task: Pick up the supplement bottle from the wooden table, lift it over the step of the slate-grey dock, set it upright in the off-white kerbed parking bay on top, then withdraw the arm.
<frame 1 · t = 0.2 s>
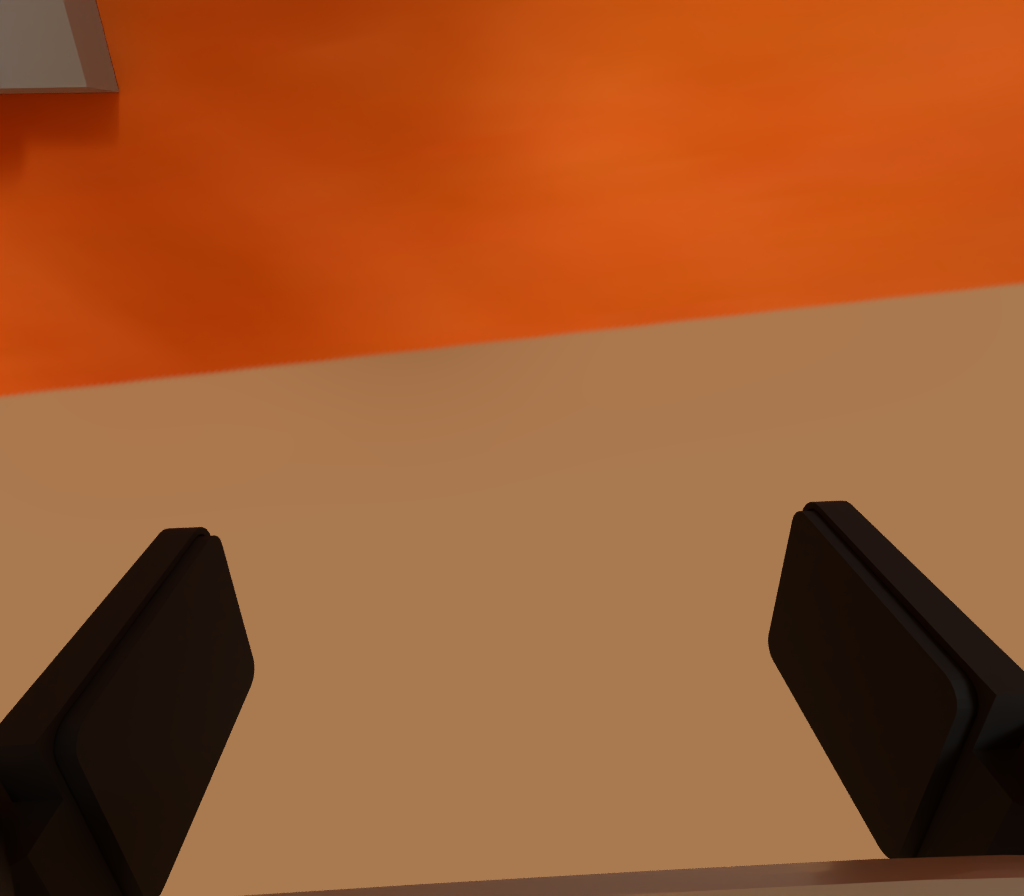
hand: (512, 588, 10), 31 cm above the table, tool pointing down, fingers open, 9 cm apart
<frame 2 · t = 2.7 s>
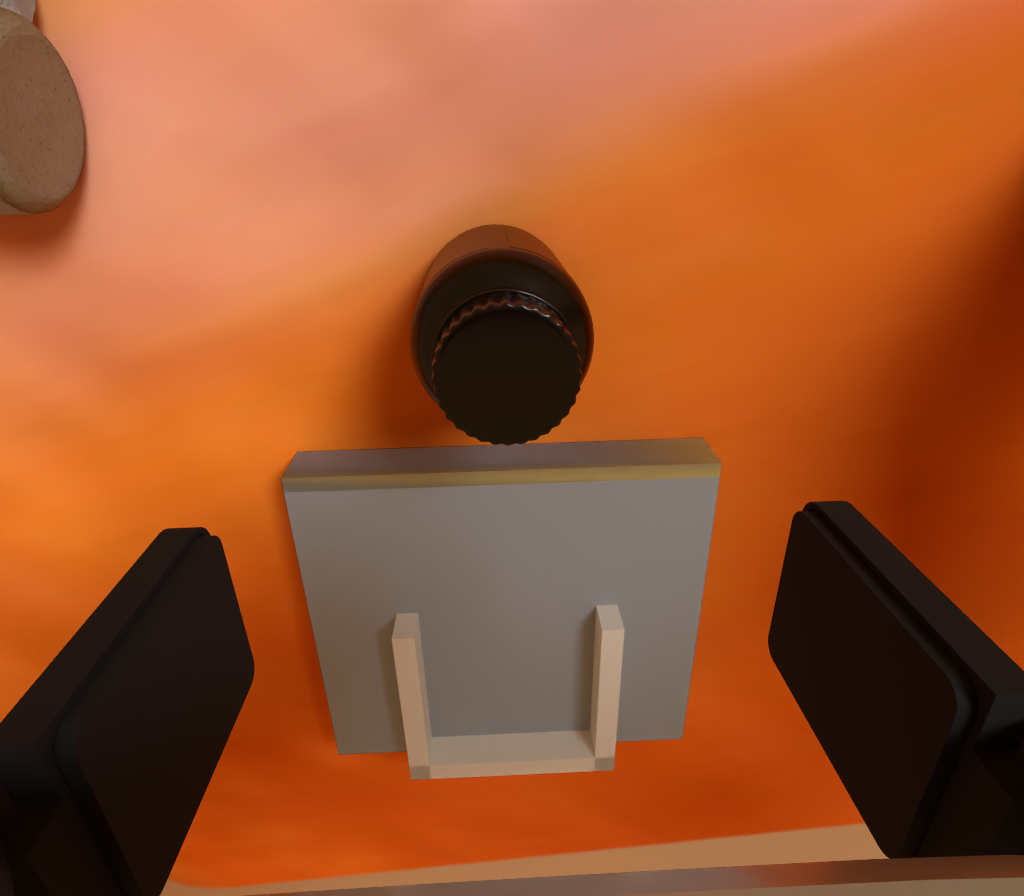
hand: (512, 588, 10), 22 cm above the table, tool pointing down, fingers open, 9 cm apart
supplement bottle: (497, 295, 30), on the table
dock: (506, 591, 38), on the table
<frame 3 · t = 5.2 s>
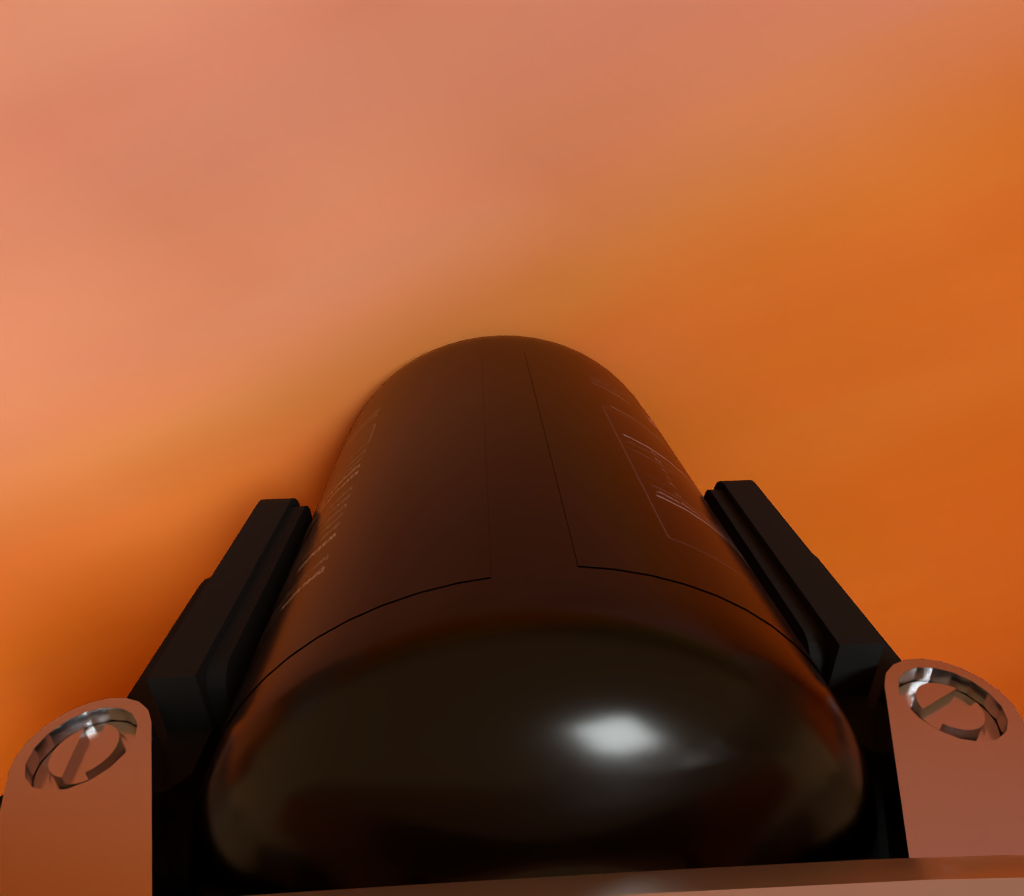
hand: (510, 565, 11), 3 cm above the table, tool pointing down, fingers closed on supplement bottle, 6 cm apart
supplement bottle: (505, 472, 14), on the table, touching gripper
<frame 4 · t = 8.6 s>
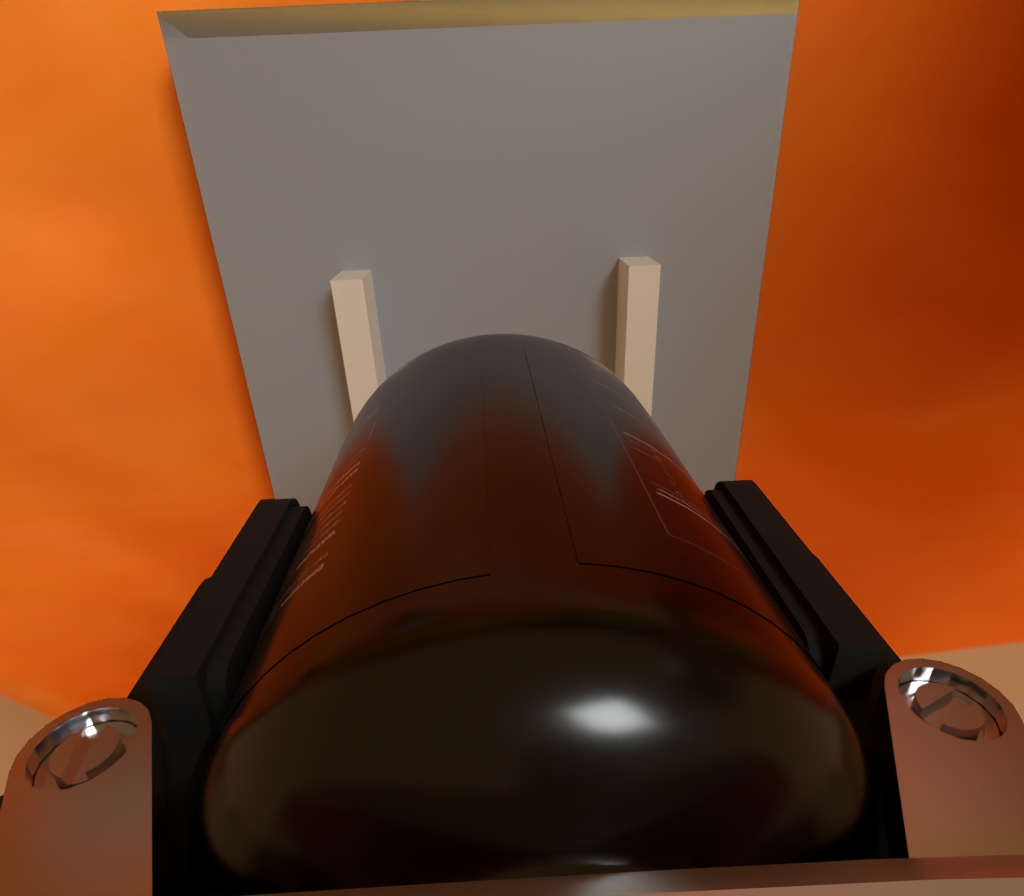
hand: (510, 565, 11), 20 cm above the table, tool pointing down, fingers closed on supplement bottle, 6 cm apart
supplement bottle: (504, 471, 14), point 16 cm above the table, touching gripper
dock: (495, 279, 28), on the table
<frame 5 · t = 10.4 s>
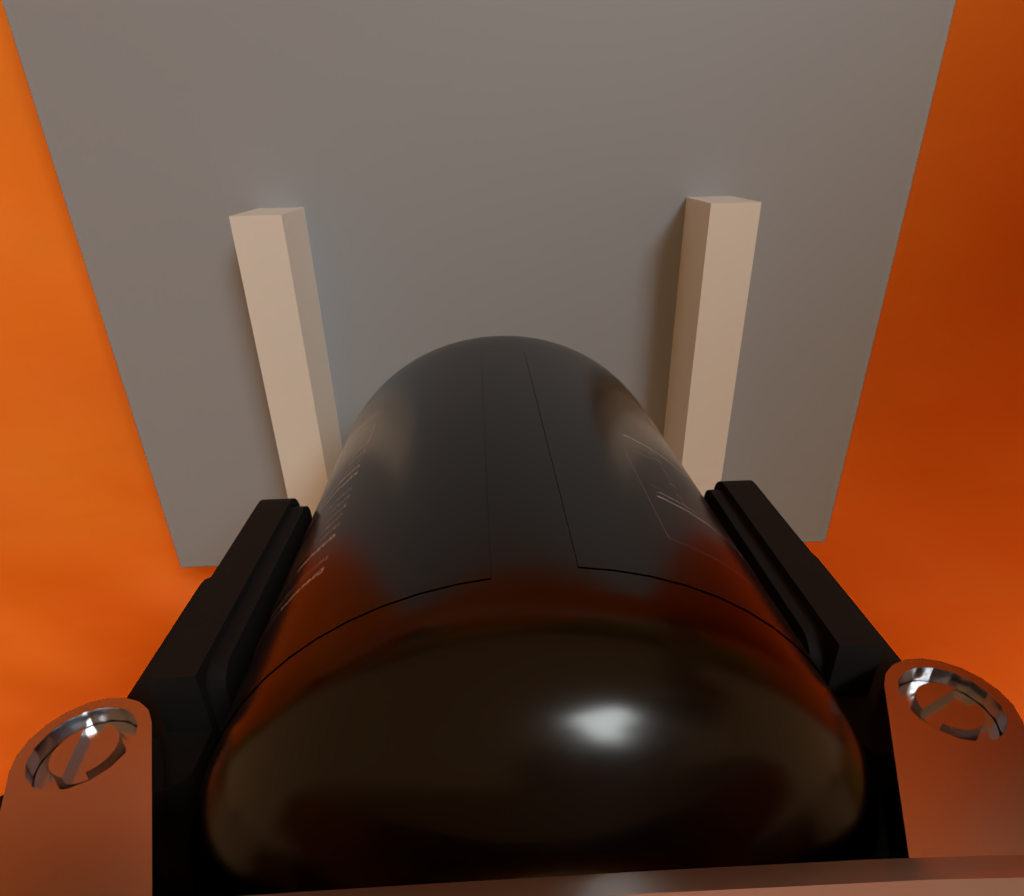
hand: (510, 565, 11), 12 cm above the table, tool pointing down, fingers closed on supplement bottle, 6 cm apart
supplement bottle: (505, 473, 14), point 8 cm above the table, touching gripper
dock: (496, 235, 19), on the table
when the fingers open (7 cm above the table, at t = 12.1 s): supplement bottle drops 1 cm, resting on dock.
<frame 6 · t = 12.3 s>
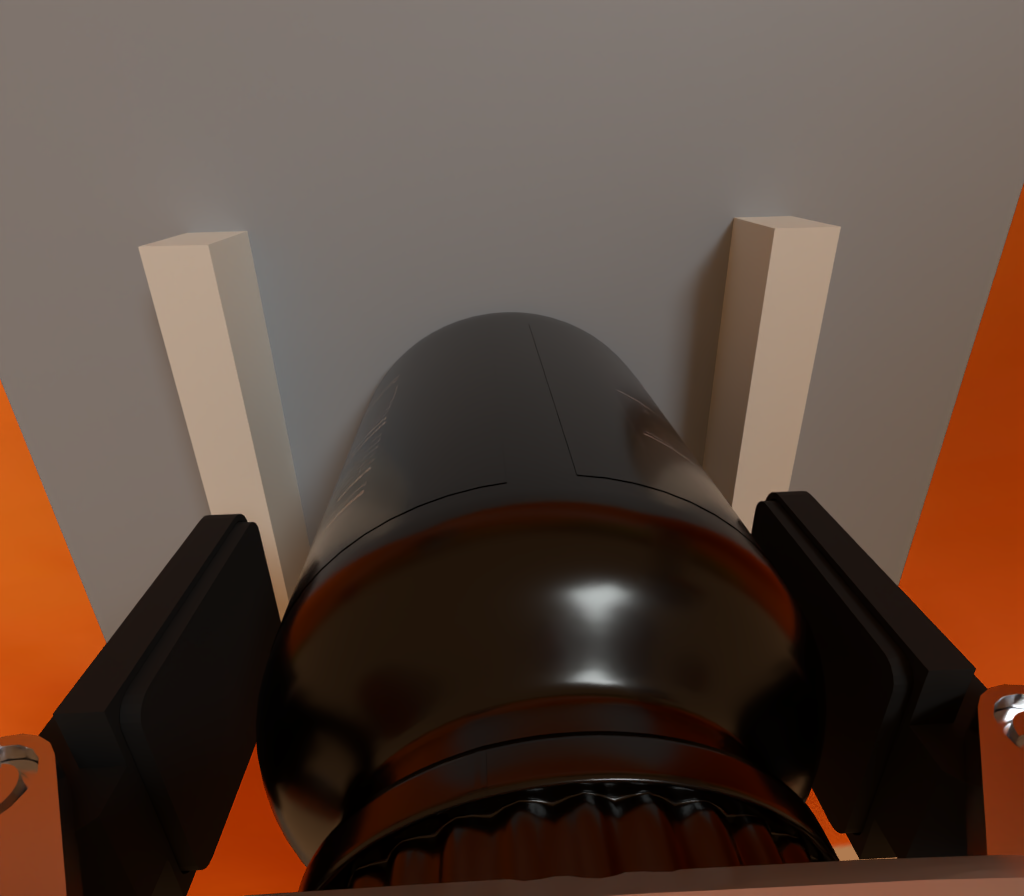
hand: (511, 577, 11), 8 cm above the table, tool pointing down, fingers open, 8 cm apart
supplement bottle: (510, 441, 15), point 3 cm above the table, touching dock
dock: (493, 260, 16), on the table
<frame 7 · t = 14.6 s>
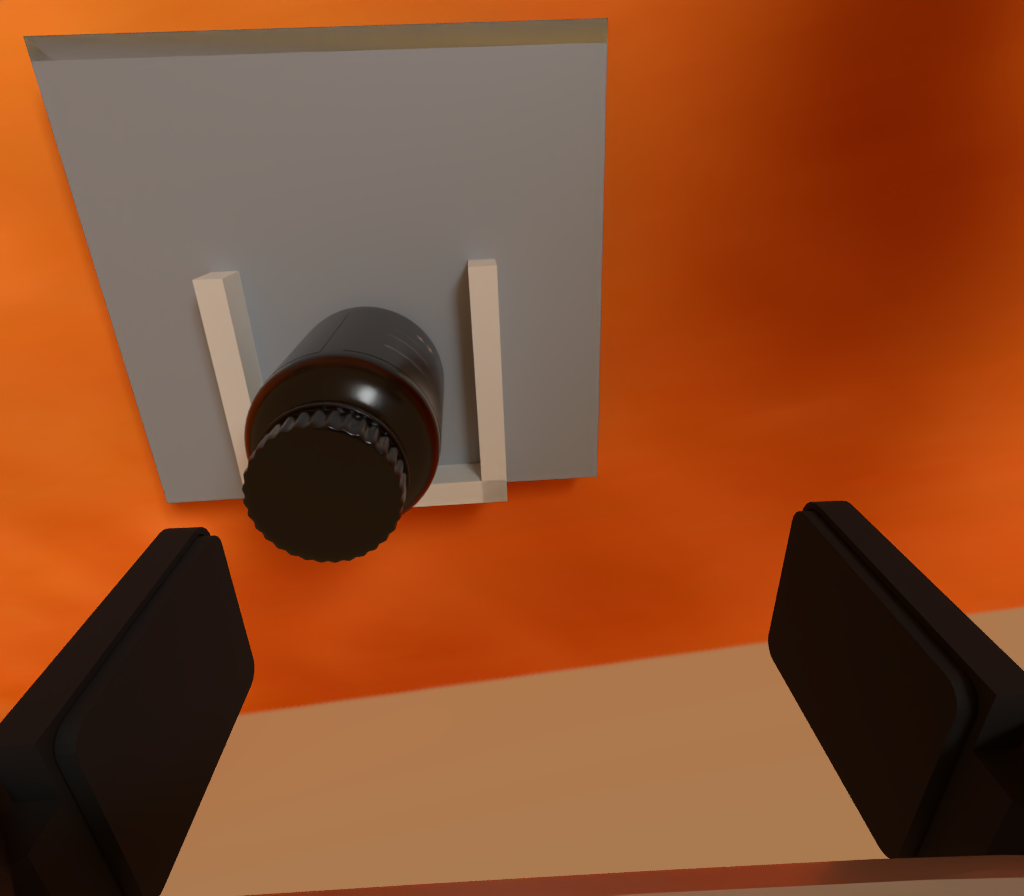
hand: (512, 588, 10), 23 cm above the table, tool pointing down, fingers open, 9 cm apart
supplement bottle: (375, 373, 30), point 3 cm above the table, touching dock
dock: (368, 281, 30), on the table
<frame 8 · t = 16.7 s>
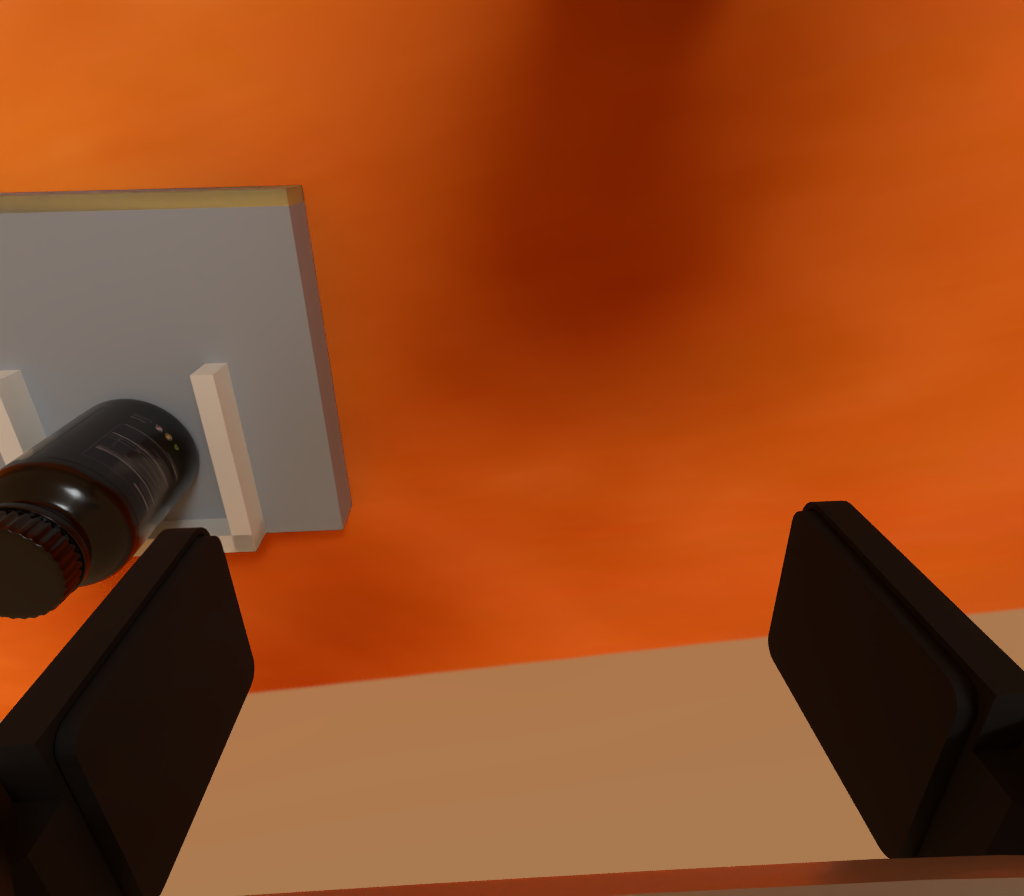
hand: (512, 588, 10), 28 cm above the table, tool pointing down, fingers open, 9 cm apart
supplement bottle: (145, 447, 36), point 3 cm above the table, touching dock
dock: (145, 369, 37), on the table
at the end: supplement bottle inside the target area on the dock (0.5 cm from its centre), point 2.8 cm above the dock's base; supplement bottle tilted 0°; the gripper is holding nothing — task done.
